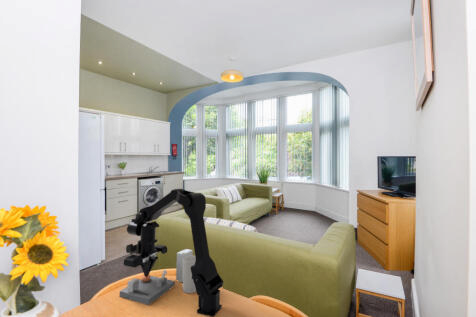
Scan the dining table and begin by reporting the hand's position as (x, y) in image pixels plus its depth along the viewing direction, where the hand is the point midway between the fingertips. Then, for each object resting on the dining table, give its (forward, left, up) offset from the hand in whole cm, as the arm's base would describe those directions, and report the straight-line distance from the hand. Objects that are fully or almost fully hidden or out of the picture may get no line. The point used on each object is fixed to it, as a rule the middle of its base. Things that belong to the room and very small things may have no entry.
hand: (146, 276), depth 90 cm
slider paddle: (-1, +8, -2) cm, 8 cm away
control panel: (-4, +3, -4) cm, 6 cm away
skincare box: (-11, -11, -4) cm, 16 cm away
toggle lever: (-8, 0, -1) cm, 8 cm away
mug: (-18, -7, -4) cm, 19 cm away
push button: (0, 0, -2) cm, 2 cm away
